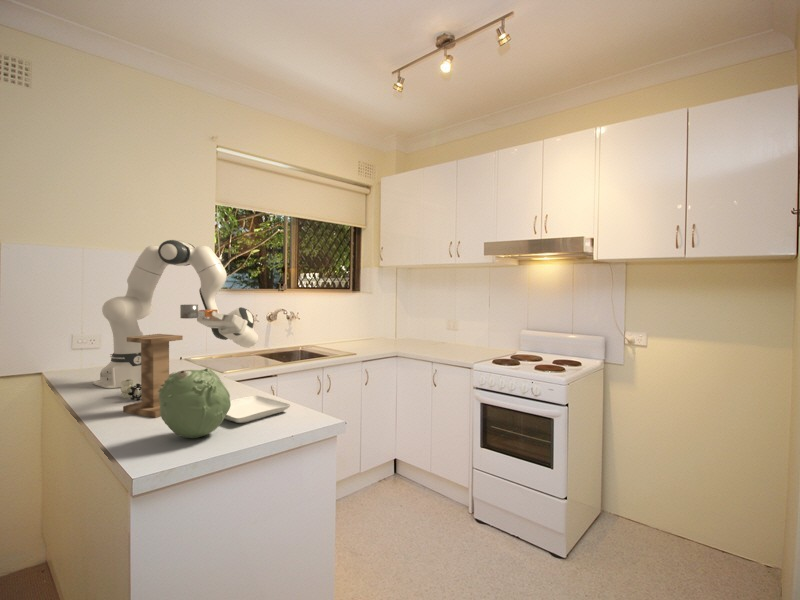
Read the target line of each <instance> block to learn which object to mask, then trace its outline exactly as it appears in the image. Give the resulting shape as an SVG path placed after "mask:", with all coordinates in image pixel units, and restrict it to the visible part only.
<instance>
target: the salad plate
mask: <svg viewBox="0 0 800 600" xmlns="http://www.w3.org/2000/svg"><path fill="white" fill-rule="evenodd" d="M230 402H231V406H230V409H229V411H228V413H227V414H226V416H225V418H224V420H227V421H230V422H233V423H236V424H244V423H245V424H246V423H249V422H253V421H256V420H260V419H264V418H266V417H270V416H273V415H277V414H279V413H282V412H284V411H286V410H288V409H289V408H290V407H291V405H292V404H291V403H288V402H284V401H281V400H278V399H275V398H274V399H273V398H269V397H265V396H261V395H258V394H255V395H250V396H245V397H239V398H235V399H230Z"/></svg>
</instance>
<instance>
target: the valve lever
mask: <svg viewBox="0 0 800 600" xmlns="http://www.w3.org/2000/svg"><path fill="white" fill-rule="evenodd" d="M179 310H180V314H179V315H180V319H197V318H200V317H214V316H211V315H210V312H211V311H215V312H217V313H218V311H219V309H218V310H215V309H209V310H205V309H199V304H180V308H179Z"/></svg>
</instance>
